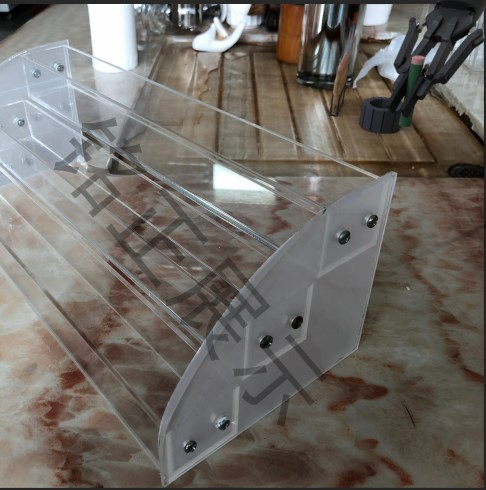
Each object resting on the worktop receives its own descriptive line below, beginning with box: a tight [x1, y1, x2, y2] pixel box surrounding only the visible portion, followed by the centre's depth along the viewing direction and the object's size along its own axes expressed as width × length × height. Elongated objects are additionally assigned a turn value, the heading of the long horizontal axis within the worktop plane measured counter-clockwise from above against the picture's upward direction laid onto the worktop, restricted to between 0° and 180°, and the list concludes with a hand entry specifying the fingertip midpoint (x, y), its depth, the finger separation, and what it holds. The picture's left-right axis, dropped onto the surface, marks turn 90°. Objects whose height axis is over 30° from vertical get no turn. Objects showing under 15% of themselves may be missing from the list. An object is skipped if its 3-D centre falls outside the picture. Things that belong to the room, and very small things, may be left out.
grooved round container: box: [358, 96, 403, 134], centre depth 129 cm, size 9×9×5 cm
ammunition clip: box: [328, 50, 349, 117], centre depth 136 cm, size 11×2×12 cm, turn 158°
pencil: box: [399, 56, 426, 128], centre depth 103 cm, size 2×2×12 cm
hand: (396, 111), depth 102 cm, fingers closed on pencil, 2 cm apart
